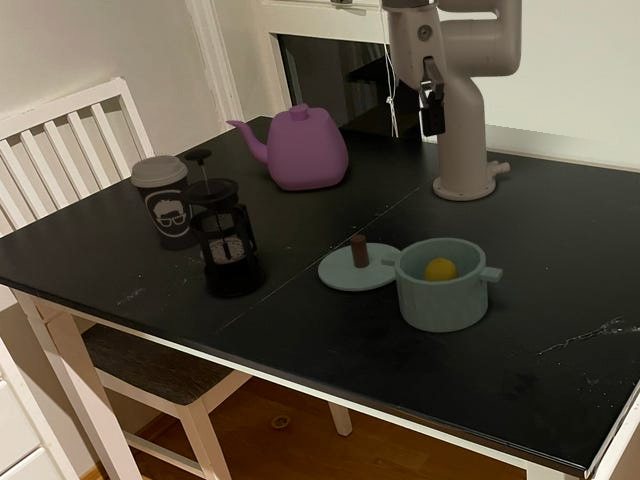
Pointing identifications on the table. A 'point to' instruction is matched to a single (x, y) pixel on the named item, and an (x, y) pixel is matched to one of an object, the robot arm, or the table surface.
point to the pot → (442, 284)
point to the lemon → (440, 271)
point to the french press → (223, 233)
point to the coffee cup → (165, 198)
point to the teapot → (300, 148)
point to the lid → (357, 266)
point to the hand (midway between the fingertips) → (421, 123)
